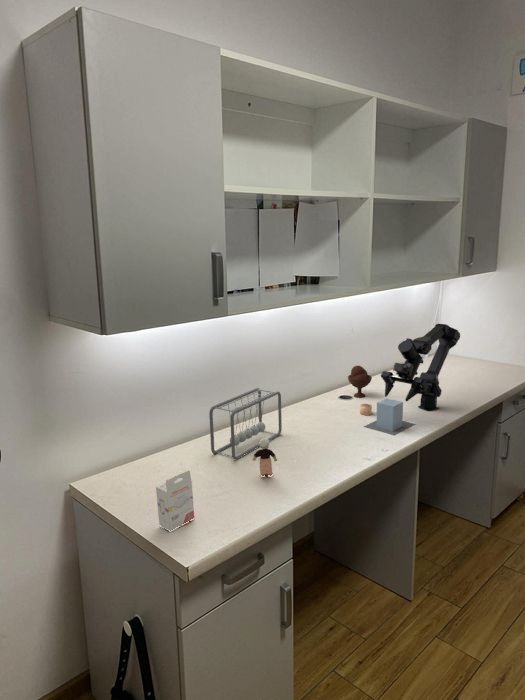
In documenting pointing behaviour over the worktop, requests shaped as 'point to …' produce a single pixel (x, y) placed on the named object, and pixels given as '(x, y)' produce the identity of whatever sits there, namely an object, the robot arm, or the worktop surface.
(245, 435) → the newton's cradle
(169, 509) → the ink cartridge box
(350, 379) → the ice cream bowl
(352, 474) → the worktop surface
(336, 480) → the worktop surface
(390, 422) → the cover
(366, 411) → the bowl
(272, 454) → the grandmother figurine
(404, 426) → the mat
